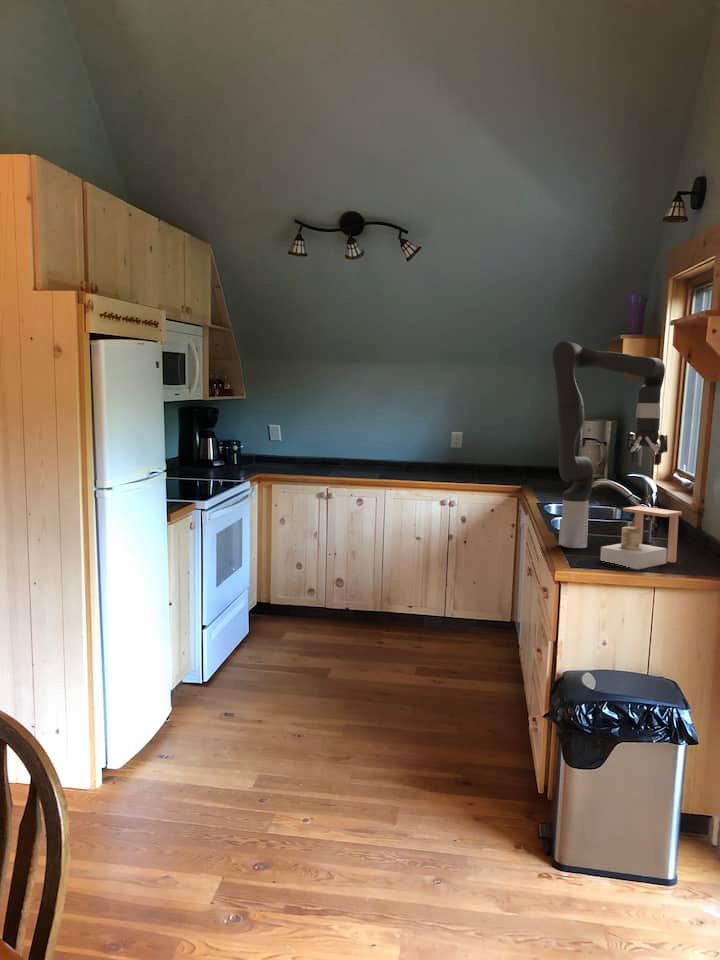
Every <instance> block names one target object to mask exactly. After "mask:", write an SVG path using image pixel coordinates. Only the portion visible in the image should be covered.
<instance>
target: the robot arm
mask: <svg viewBox="0 0 720 960" xmlns="http://www.w3.org/2000/svg"><path fill="white" fill-rule="evenodd" d="M551 357H552V364H553V369H554V376H555V380H556V382H555V383H556V386H555V387H556V398H557V400H556V401H557V418H558V431H559V432H558V433H559V435H558V436H559V438H558V439H559V450H558V452H559V454H558V471H559V472H558V473H559V475H560V478H561V480H563V481H564V482H566V483H573V484H572V486H570V488H568V489H566V490H565V491H563V494H562V512H561V519H559V526H558V527H559V530H558V531H559V532H558V533H559V534H558V535H559V536H558V545H559V546H561V547H563V548H569V549H585V548H587V547H588V533H589V532H588V529H589V527H588V525H589V502H590V495H591V493H592V488H593V487H592V485H593V477H594V466H593V465H594V464H593V463H592V460H591V459H590V458H589V457H588V456H584V455H583V456H576V450H575V449H576V442H577V439H578V436H579V434H580V432H581V430H582V428H583V427H584V426H583V425H584V421H585V407H584V400H583V397H582V394H581V392H580V389H579V387H578V384H577V383H576V382H577V381H576V377H575V369H578V368H580V369H581V368H589V369H597V370H602V371H605V372H609V373H613V374H614V373H615V374H620V375H630V376H633V377H636V378H642V379H643V383H642V386H640V387H639V389H638V392H637V407H636V418H635V431H636V432H635V433H634V432H628V433H627V436H626V437H627V438H626V445H625V446H626V447H625V449H626V450H627V451H630V455H631V456H630V460H631V463H632V464H638V461H639V460H638V459H639V458H638V456H639V452H638V451H639V450H640V449H641V448H642V447H649V448H651V449H652V451H654V453H655V454H654V458H653V459H654V460H653V461H654V462H653V464H654V465H655V466H659V465H660V464H661V462H662V454H664V453H667V452H668V447H669V446H668V445H669V443H668V438H669V437H668V434H659V431H660V424H661V423H660V421H661V406H660V405H661V390H662V386H663V383H664V378H665V374H666V368H665V366H666V365H665V364H664V361H663V360H662V359H660V358H658V357H651V356H650V357H649V356H640V355H639V356H638V355H633V354H629V353H623V352H617V351H614V352H613V351H599V350H594V349H590V348H587V347H584V346H582V345H579V344H577V343H576V342H575V343H574V342H569V341H560V342H558V343H557V344H556V345H555V346H554V348H553V350H552V356H551ZM635 439H636V441H635ZM658 440H659V441H658Z"/></svg>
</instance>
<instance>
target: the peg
mask: <svg viewBox="0 0 720 960" xmlns="http://www.w3.org/2000/svg"><path fill="white" fill-rule="evenodd" d="M639 537H640V528H637V527H633V526H629V525H627V526H623V527H621V540H620V541H621V542H620V544H621V549H626V550H631V551H634V550H639Z"/></svg>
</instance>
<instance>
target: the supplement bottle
mask: <svg viewBox="0 0 720 960" xmlns="http://www.w3.org/2000/svg"><path fill="white" fill-rule="evenodd" d="M650 516H651V515H647V514H644V517H643V537H642V542H649V543H651V539H652V528H653V527H652V525H653V520H652V518H651V517H650ZM634 526H635V516H634V517H633V519H632V527H634Z"/></svg>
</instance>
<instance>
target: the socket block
mask: <svg viewBox="0 0 720 960" xmlns="http://www.w3.org/2000/svg"><path fill="white" fill-rule="evenodd" d="M667 555H668V548H666V547H660V546H654V545H648V544H645V543H642V544H639V550H634V551H631V550H626V549H621V543H616V544H611V545H604V546H600V560H601V561H605V562H610V563H615V564H619V565H623V566H626V567H625V568H628V567H630V568H629V569H632V570H633V569H634V570H642V569H646V568H651V567H655V566H656V567H657V566H661V565H664V564H667ZM600 560H599V561H600ZM605 562H604V563H605ZM619 565H618V566H619ZM623 566H622V567H623Z"/></svg>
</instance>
